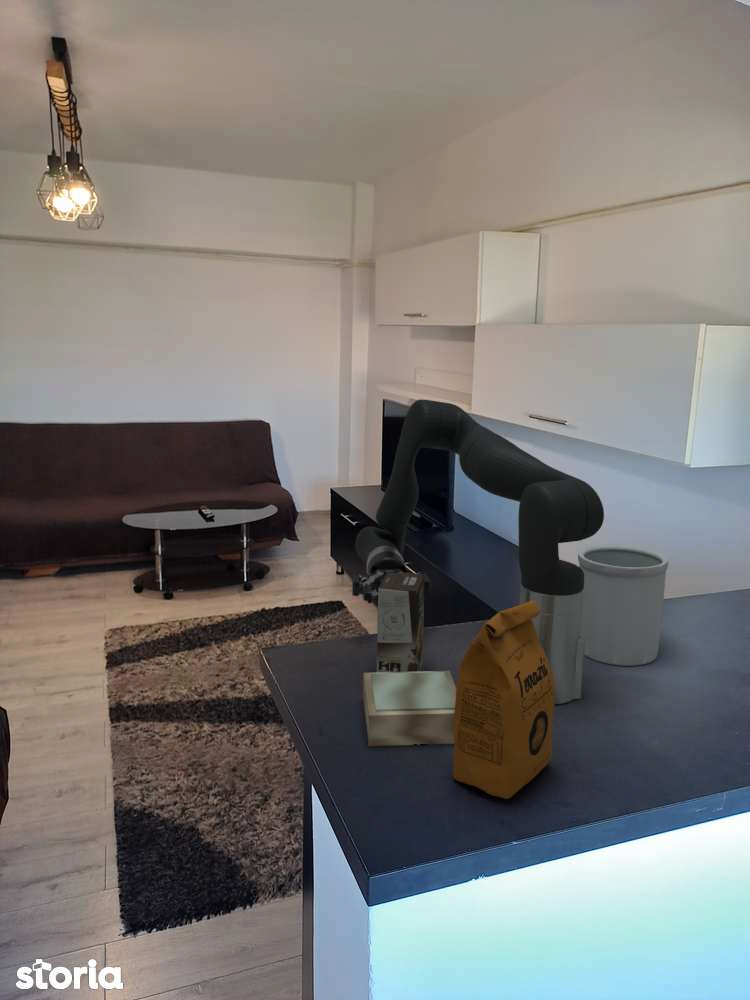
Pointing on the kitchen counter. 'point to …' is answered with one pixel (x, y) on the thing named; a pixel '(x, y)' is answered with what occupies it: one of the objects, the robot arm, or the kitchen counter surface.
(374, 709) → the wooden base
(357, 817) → the kitchen counter surface
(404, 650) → the coffee box
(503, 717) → the coffee package
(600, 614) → the utensil holder
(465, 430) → the robot arm
